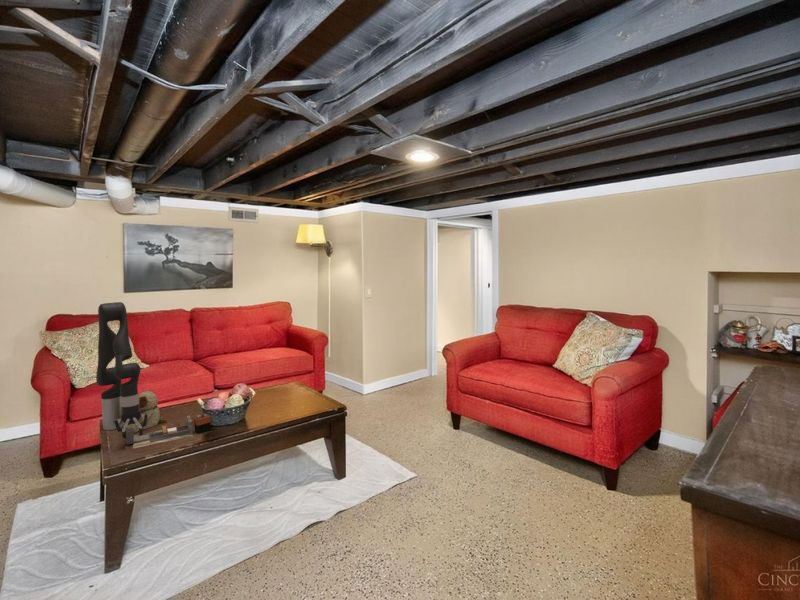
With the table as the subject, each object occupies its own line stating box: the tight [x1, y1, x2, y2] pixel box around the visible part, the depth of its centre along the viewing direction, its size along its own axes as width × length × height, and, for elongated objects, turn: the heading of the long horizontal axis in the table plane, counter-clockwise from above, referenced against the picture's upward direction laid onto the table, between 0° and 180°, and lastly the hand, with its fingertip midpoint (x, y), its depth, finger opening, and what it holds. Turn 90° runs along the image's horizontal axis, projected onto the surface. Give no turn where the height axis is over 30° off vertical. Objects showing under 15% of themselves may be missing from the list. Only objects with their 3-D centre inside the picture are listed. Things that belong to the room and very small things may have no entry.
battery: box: [193, 413, 212, 435], centre depth 213 cm, size 4×7×10 cm, turn 139°
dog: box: [125, 390, 168, 434], centre depth 221 cm, size 23×19×20 cm
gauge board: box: [132, 415, 194, 449], centre depth 206 cm, size 14×26×8 cm, turn 124°
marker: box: [166, 426, 177, 434], centre depth 208 cm, size 4×4×3 cm
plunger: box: [125, 425, 167, 445], centre depth 202 cm, size 5×17×6 cm, turn 124°
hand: (132, 436), depth 198 cm, fingers open, 5 cm apart
